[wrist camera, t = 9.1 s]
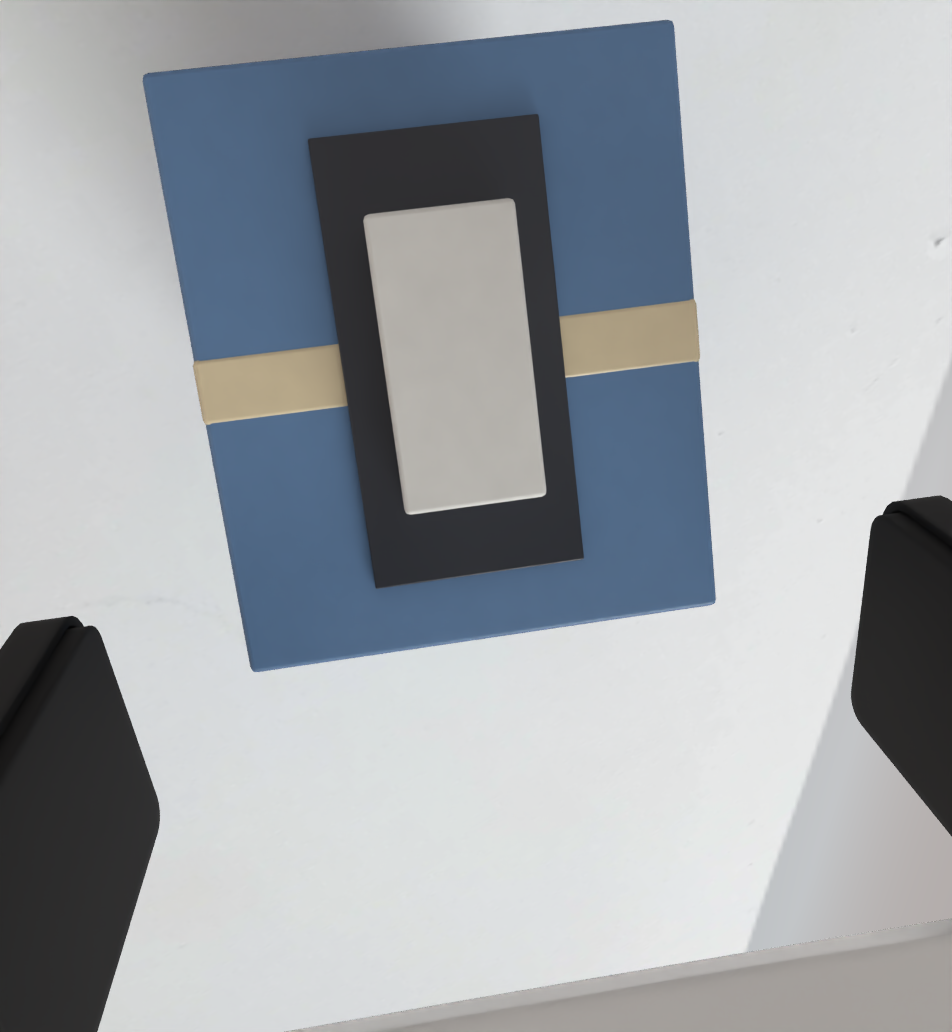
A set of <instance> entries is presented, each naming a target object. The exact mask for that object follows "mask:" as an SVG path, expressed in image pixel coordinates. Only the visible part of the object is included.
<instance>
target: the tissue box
mask: <svg viewBox="0 0 952 1032" xmlns="http://www.w3.org/2000/svg"><path fill="white" fill-rule="evenodd" d="M143 86H144V92H145V97H146V103H147V108H148V113H149V119H150V124H151V130H152V135H153V141H154V146H155V151H156V157H157V162H158V168H159V173H160V179H161V184H162V189H163V195H164V200H165V206H166V211H167V217H168V222H169V227H170V233H171V238H172V244H173V249H174V255H175V260H176V265H177V271H178V276H179V282H180V287H181V293H182V298H183V303H184V309H185V314H186V320H187V325H188V331H189V336H190V341H191V347H192V352H193V358H194V364H193V369H194V374H195V380H196V385H197V391H198V396H199V401H200V407H201V412H202V418H203V421H204V423H205V424H206V428H207V434H208V439H209V445H210V450H211V455H212V461H213V466H214V472H215V477H216V483H217V488H218V493H219V499H220V504H221V510H222V515H223V521H224V526H225V531H226V537H227V542H228V548H229V553H230V559H231V564H232V569H233V575H234V580H235V586H236V591H237V597H238V602H239V607H240V613H241V618H242V624H243V629H244V635H245V640H246V645H247V651H248V656H249V662H250V667H251V669H252V670H253V671H254V672H261V671H268V670H275V669H282V668H288V667H295V666H302V665H309V664H315V663H322V662H329V661H336V660H343V659H349V658H356V657H363V656H370V655H376V654H383V653H390V652H397V651H403V650H410V649H417V648H424V647H430V646H437V645H444V644H451V643H458V642H464V641H471V640H478V639H485V638H491V637H498V636H505V635H512V634H518V633H525V632H532V631H539V630H546V629H552V628H559V627H566V626H573V625H579V624H586V623H593V622H600V621H606V620H613V619H620V618H627V617H634V616H640V615H647V614H654V613H661V612H667V611H674V610H681V609H688V608H694V607H701V606H708V605H712V604H714V603H715V600H716V596H715V582H714V569H713V555H712V541H711V528H710V514H709V500H708V486H707V473H706V459H705V445H704V432H703V418H702V404H701V390H700V377H699V363H698V361H699V358H700V349H699V335H698V322H697V308H696V302H695V300H694V294H693V281H692V267H691V253H690V240H689V226H688V212H687V198H686V185H685V171H684V157H683V144H682V130H681V116H680V102H679V89H678V75H677V61H676V48H675V34H674V25H673V22H672V21H670V20H661V21H651V22H642V23H632V24H622V25H612V26H603V27H593V28H583V29H573V30H564V31H554V32H544V33H534V34H525V35H515V36H505V37H495V38H486V39H476V40H466V41H456V42H446V43H437V44H427V45H417V46H407V47H398V48H388V49H378V50H368V51H359V52H349V53H339V54H329V55H320V56H310V57H300V58H290V59H280V60H271V61H261V62H251V63H241V64H232V65H222V66H212V67H202V68H193V69H183V70H173V71H163V72H154V73H148V74H145V75H144V76H143Z"/></svg>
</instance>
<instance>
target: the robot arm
mask: <svg viewBox="0 0 952 1032" xmlns="http://www.w3.org/2000/svg"><path fill="white" fill-rule="evenodd" d="M851 700H852V706H853V709H854V712H855V715H856V717H857V719H858V720H859V722H860V723H861V725H862V726H863V727H864V728H865V730H866V731H867V732H868V733H869V735H870V736H871V737H872V738H873V740H874V741H875V742H876V743H877V745H878V746H879V747H880V748H881V749H882V751H883V752H884V753H885V755H886V756H887V757H888V758H889V759H890V761H891V762H892V763H893V764H894V766H895V767H896V768H897V769H898V770H899V772H900V773H901V774H902V775H903V777H904V778H905V779H906V780H907V781H908V783H909V784H910V785H911V787H912V788H913V789H914V790H915V791H916V793H917V794H918V795H919V797H920V798H921V799H922V800H923V801H924V803H925V804H926V805H927V806H928V807H929V809H930V810H931V811H932V813H933V814H934V815H935V816H936V817H937V819H938V820H939V821H940V822H941V824H942V825H943V826H944V827H945V829H946V830H947V831H948V832H949V834H950V835H951V836H952V501H951V500H949V499H948V498H945V497H943V496H932V497H925V498H917V499H911V500H903V501H896V502H892V503H890V504H889V505H888V506H887V507H886V509H885V511H884V513H883V515H879V516H877V517H876V518H875V519H874V521H873V523H872V526H871V531H870V539H869V548H868V556H867V564H866V573H865V581H864V589H863V598H862V606H861V614H860V622H859V631H858V640H857V647H856V656H855V664H854V672H853V681H852V689H851ZM159 822H160V810H159V802H158V799H157V795H156V792H155V790H154V787H153V784H152V781H151V778H150V775H149V772H148V769H147V767H146V764H145V761H144V758H143V755H142V752H141V749H140V746H139V744H138V741H137V738H136V735H135V732H134V729H133V726H132V723H131V721H130V718H129V715H128V712H127V709H126V706H125V703H124V700H123V698H122V695H121V692H120V689H119V686H118V683H117V680H116V677H115V675H114V672H113V669H112V666H111V663H110V660H109V657H108V654H107V652H106V649H105V646H104V643H103V640H102V637H101V635H100V633H99V631H98V630H97V629H96V627H94V626H86V627H84V626H83V624H82V623H81V622H80V621H79V619H78V618H76V617H74V616H68V617H61V618H54V619H47V620H40V621H32V622H25V623H20V624H19V625H18V626H17V627H16V628H15V629H14V631H13V632H12V634H11V635H10V636H9V638H8V639H7V641H6V642H5V643H4V645H3V646H2V648H1V649H0V1032H97V1031H98V1027H99V1024H100V1021H101V1018H102V1014H103V1011H104V1008H105V1004H106V1001H107V998H108V995H109V991H110V988H111V985H112V981H113V978H114V975H115V972H116V968H117V965H118V962H119V958H120V955H121V952H122V949H123V945H124V942H125V939H126V935H127V932H128V929H129V926H130V922H131V919H132V916H133V912H134V909H135V906H136V903H137V899H138V896H139V893H140V889H141V886H142V883H143V880H144V876H145V873H146V870H147V866H148V863H149V860H150V857H151V853H152V850H153V847H154V843H155V840H156V837H157V834H158V829H159ZM286 1032H952V919H946V920H940V921H934V922H927V923H922V924H915V925H909V926H904V927H897V928H891V929H885V930H878V931H872V932H866V933H861V934H854V935H848V936H842V937H836V938H829V939H824V940H817V941H811V942H805V943H799V944H793V945H788V946H781V947H776V948H770V949H763V950H758V951H752V952H746V953H740V954H734V955H728V956H722V957H716V958H710V959H704V960H698V961H692V962H686V963H680V964H674V965H668V966H663V967H657V968H651V969H645V970H639V971H633V972H627V973H621V974H615V975H609V976H604V977H598V978H592V979H586V980H580V981H574V982H568V983H563V984H557V985H551V986H545V987H539V988H533V989H527V990H521V991H516V992H510V993H504V994H498V995H492V996H486V997H480V998H475V999H469V1000H463V1001H457V1002H451V1003H446V1004H440V1005H434V1006H429V1007H423V1008H417V1009H412V1010H406V1011H400V1012H394V1013H389V1014H383V1015H377V1016H372V1017H366V1018H360V1019H355V1020H349V1021H343V1022H337V1023H332V1024H326V1025H320V1026H315V1027H309V1028H303V1029H298V1030H292V1031H286Z"/></svg>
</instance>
